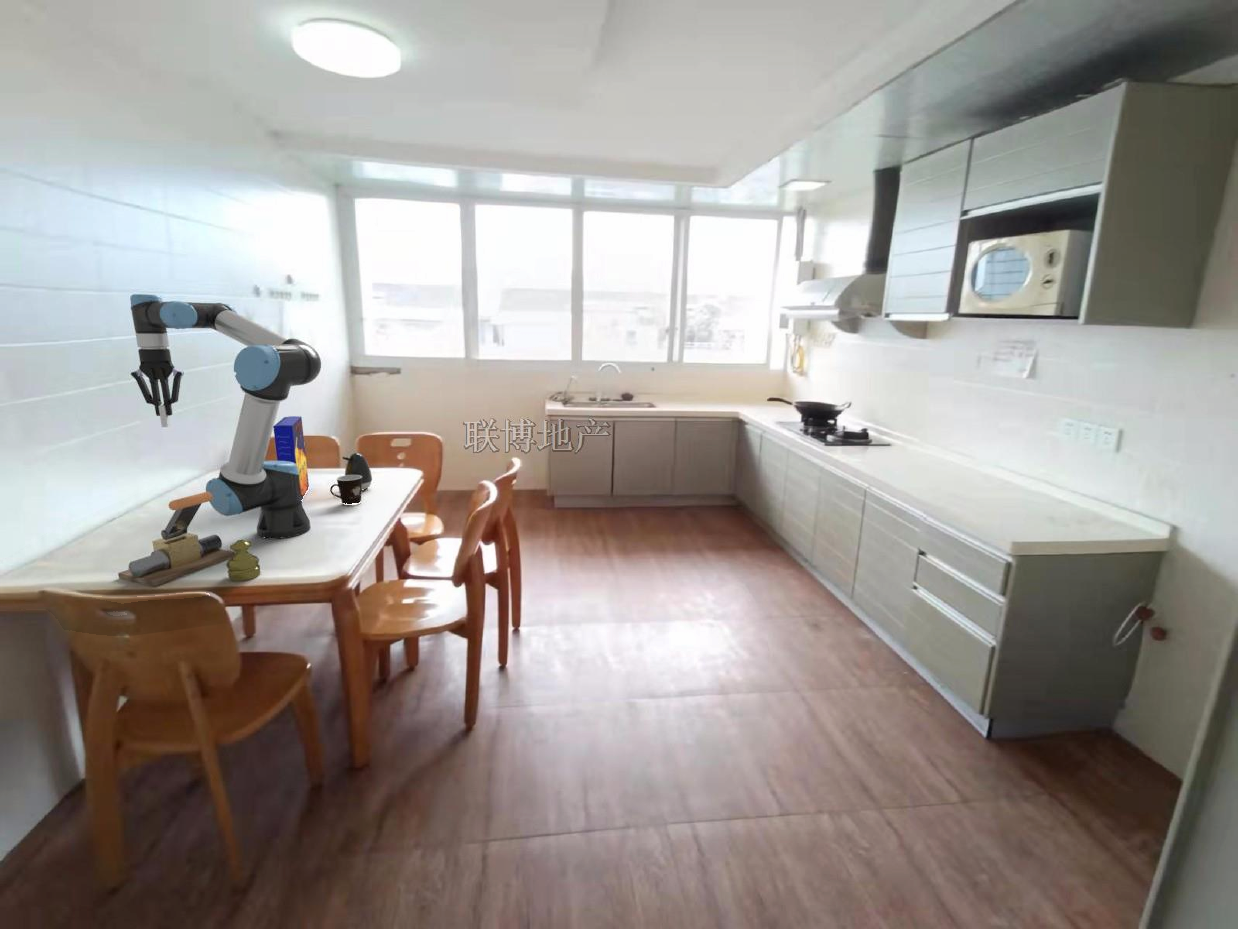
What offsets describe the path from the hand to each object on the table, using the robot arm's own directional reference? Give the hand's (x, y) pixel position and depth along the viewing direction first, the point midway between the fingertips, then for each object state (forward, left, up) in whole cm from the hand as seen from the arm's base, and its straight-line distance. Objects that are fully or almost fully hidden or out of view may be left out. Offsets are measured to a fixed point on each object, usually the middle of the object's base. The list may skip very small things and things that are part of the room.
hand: (166, 426), depth 184 cm
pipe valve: (-8, +32, -34) cm, 48 cm away
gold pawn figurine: (-26, +44, -35) cm, 62 cm away
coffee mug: (-47, -18, -35) cm, 61 cm away
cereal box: (-28, -33, -35) cm, 55 cm away
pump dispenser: (-50, -38, -35) cm, 72 cm away
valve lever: (-7, +32, -25) cm, 41 cm away
